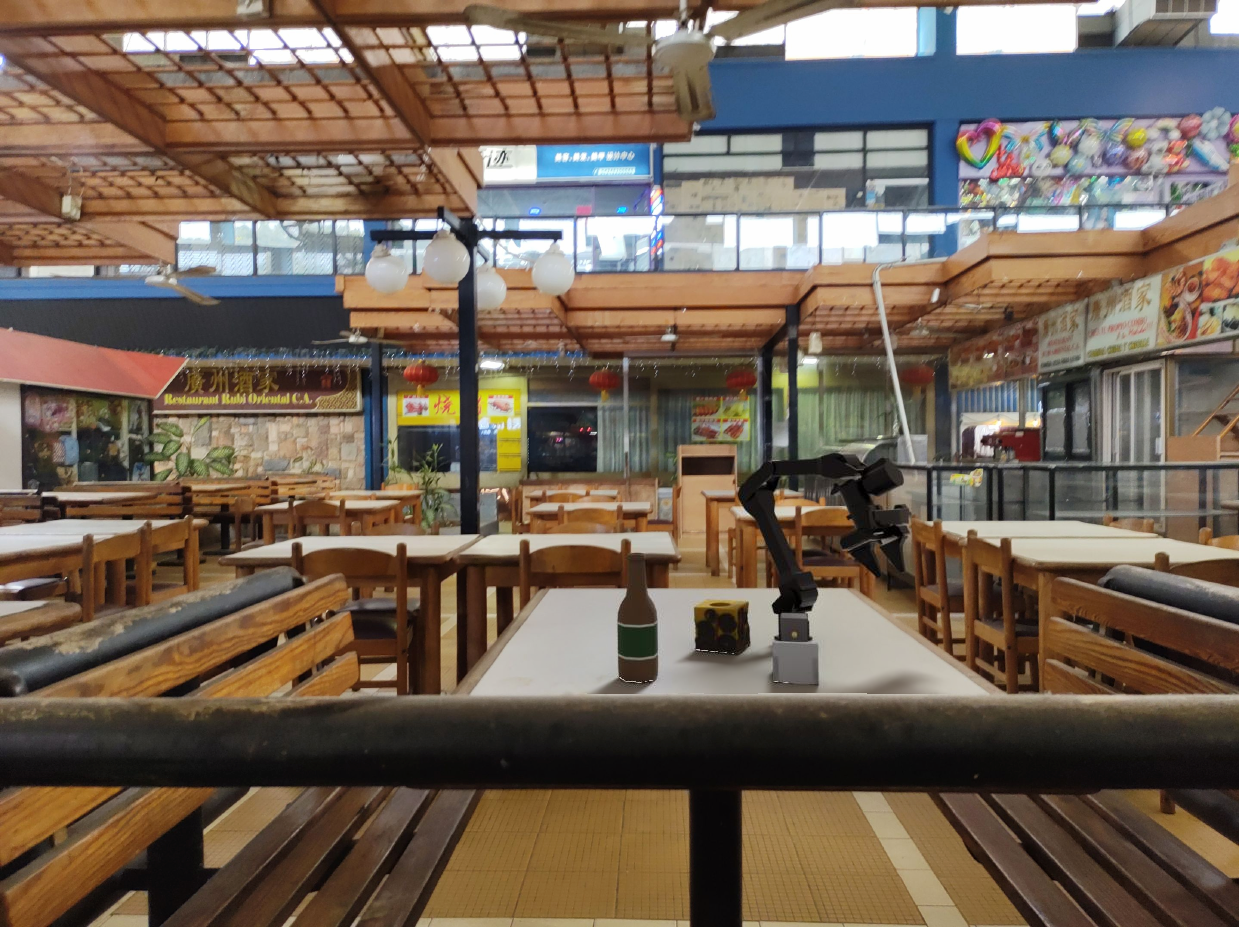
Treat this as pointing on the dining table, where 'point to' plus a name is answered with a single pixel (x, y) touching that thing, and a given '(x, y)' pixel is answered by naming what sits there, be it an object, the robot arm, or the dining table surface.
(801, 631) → the plug
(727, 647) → the yellow and black cube
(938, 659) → the dining table surface
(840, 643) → the dining table surface
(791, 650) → the socket
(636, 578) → the beer bottle
